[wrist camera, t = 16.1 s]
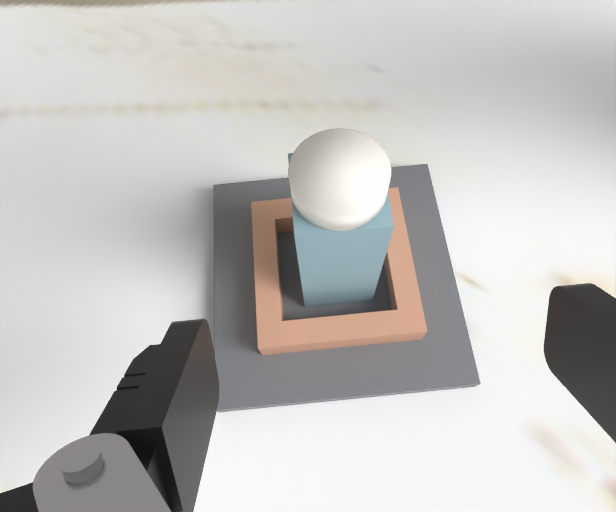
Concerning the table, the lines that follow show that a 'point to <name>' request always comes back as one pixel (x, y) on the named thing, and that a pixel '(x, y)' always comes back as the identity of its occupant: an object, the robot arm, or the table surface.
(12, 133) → the table surface
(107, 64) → the table surface
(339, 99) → the table surface
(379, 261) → the ball-topped blue post
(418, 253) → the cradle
